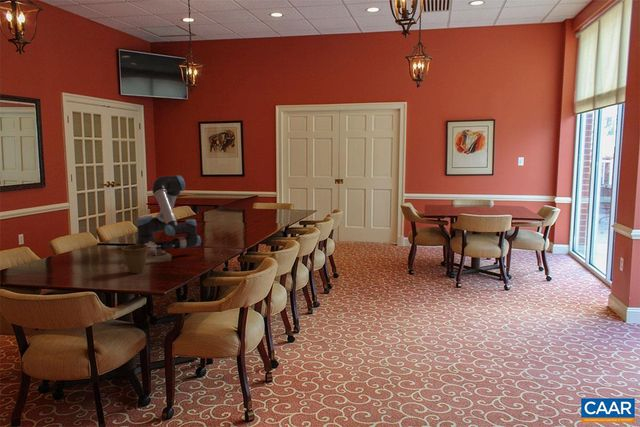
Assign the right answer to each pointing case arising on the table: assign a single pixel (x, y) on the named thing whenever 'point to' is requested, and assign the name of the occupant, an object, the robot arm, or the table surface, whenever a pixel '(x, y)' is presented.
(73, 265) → the table surface
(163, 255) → the square tray
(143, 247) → the plant pot
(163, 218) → the robot arm
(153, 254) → the teacup with lid
